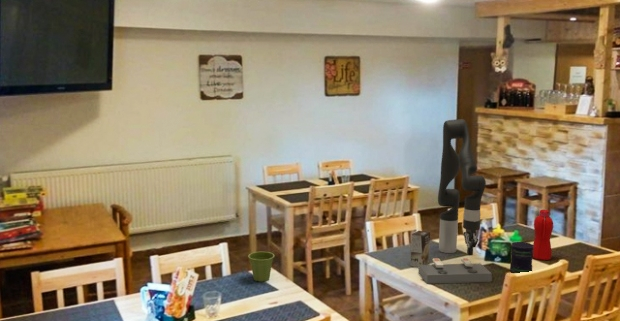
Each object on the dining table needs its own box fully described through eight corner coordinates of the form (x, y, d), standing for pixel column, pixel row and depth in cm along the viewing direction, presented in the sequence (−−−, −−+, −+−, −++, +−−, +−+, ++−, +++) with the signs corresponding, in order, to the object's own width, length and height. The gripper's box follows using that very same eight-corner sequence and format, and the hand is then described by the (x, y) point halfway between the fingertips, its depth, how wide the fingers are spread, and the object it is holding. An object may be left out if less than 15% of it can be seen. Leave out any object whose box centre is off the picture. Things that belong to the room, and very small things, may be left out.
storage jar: (523, 280, 278) (525, 249, 275) (505, 274, 286) (507, 244, 283) (536, 276, 284) (538, 245, 281) (518, 270, 291) (520, 240, 289)
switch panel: (418, 273, 287) (418, 264, 286) (479, 271, 290) (480, 262, 289) (427, 283, 273) (427, 274, 272) (491, 281, 276) (492, 272, 275)
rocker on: (461, 260, 288) (461, 258, 288) (467, 260, 288) (467, 257, 288) (466, 266, 281) (466, 263, 281) (472, 266, 281) (472, 263, 281)
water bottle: (532, 260, 306) (535, 212, 303) (531, 254, 317) (534, 207, 313) (551, 262, 304) (555, 213, 300) (550, 255, 314) (553, 208, 310)
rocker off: (432, 260, 287) (432, 258, 286) (438, 260, 287) (438, 258, 286) (436, 267, 280) (436, 265, 279) (443, 267, 280) (443, 264, 280)
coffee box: (422, 268, 293) (423, 236, 291) (410, 266, 297) (411, 234, 294) (429, 263, 301) (430, 231, 299) (416, 261, 304) (418, 230, 302)
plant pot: (243, 279, 277) (242, 255, 276) (263, 273, 286) (263, 249, 284) (259, 285, 269) (259, 261, 267) (279, 279, 277) (279, 255, 275)
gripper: (458, 215, 284) (457, 250, 287) (468, 222, 271) (467, 259, 274) (474, 214, 285) (472, 250, 288) (485, 222, 272) (483, 259, 275)
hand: (469, 254), depth 281 cm, fingers closed
